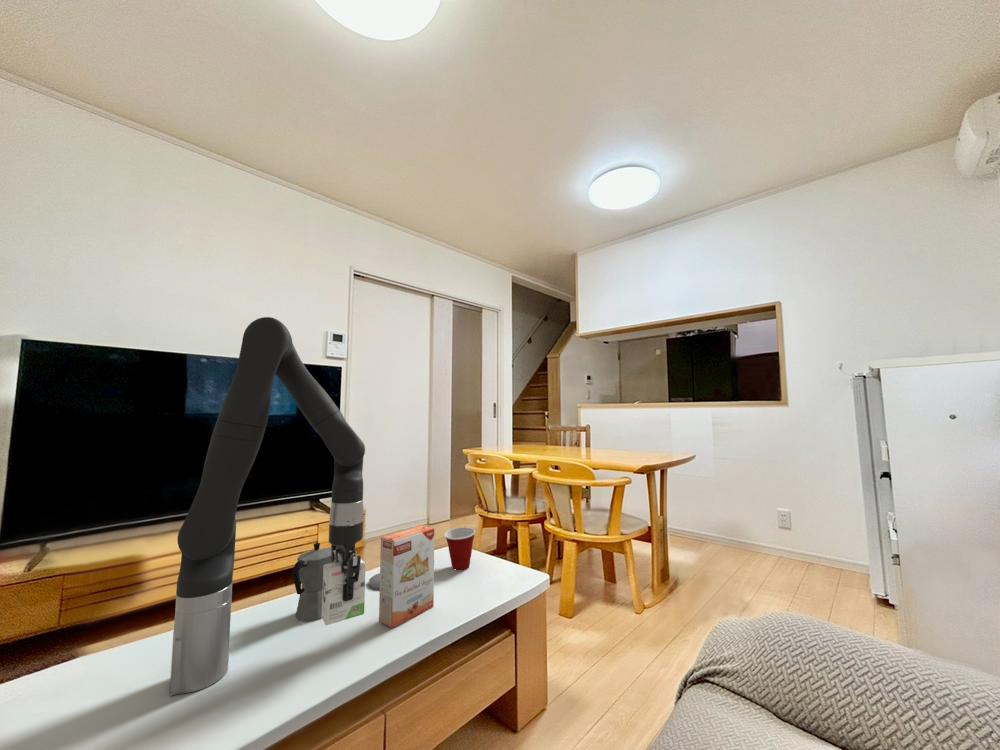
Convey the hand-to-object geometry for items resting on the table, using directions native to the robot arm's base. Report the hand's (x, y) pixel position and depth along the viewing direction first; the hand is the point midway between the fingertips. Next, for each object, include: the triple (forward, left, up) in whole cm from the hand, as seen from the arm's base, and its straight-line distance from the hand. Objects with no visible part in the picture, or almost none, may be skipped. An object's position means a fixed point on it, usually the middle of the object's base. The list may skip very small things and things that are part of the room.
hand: (343, 595), depth 90 cm
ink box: (0, 0, -5) cm, 5 cm away
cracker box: (+17, +2, -11) cm, 20 cm away
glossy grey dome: (+22, +25, -10) cm, 35 cm away
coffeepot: (-2, +19, -11) cm, 22 cm away
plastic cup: (+45, +19, -11) cm, 50 cm away
